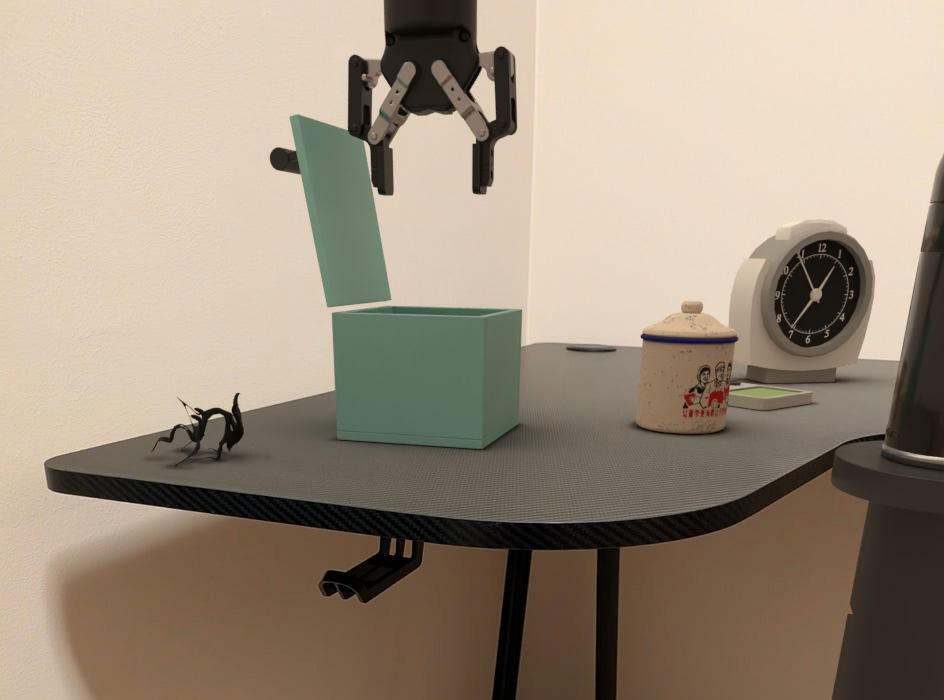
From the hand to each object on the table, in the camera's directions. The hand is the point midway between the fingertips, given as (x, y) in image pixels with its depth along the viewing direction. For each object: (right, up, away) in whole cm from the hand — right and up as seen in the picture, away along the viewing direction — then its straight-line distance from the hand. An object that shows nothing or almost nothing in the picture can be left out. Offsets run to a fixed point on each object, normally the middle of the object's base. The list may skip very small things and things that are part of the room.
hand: (432, 194), depth 78 cm
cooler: (0, -19, +8) cm, 20 cm away
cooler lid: (-7, -1, +3) cm, 8 cm away
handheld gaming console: (+35, -10, +30) cm, 47 cm away
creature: (-19, -24, -4) cm, 31 cm away
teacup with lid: (+25, -17, +13) cm, 33 cm away
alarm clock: (+48, -3, +48) cm, 68 cm away
